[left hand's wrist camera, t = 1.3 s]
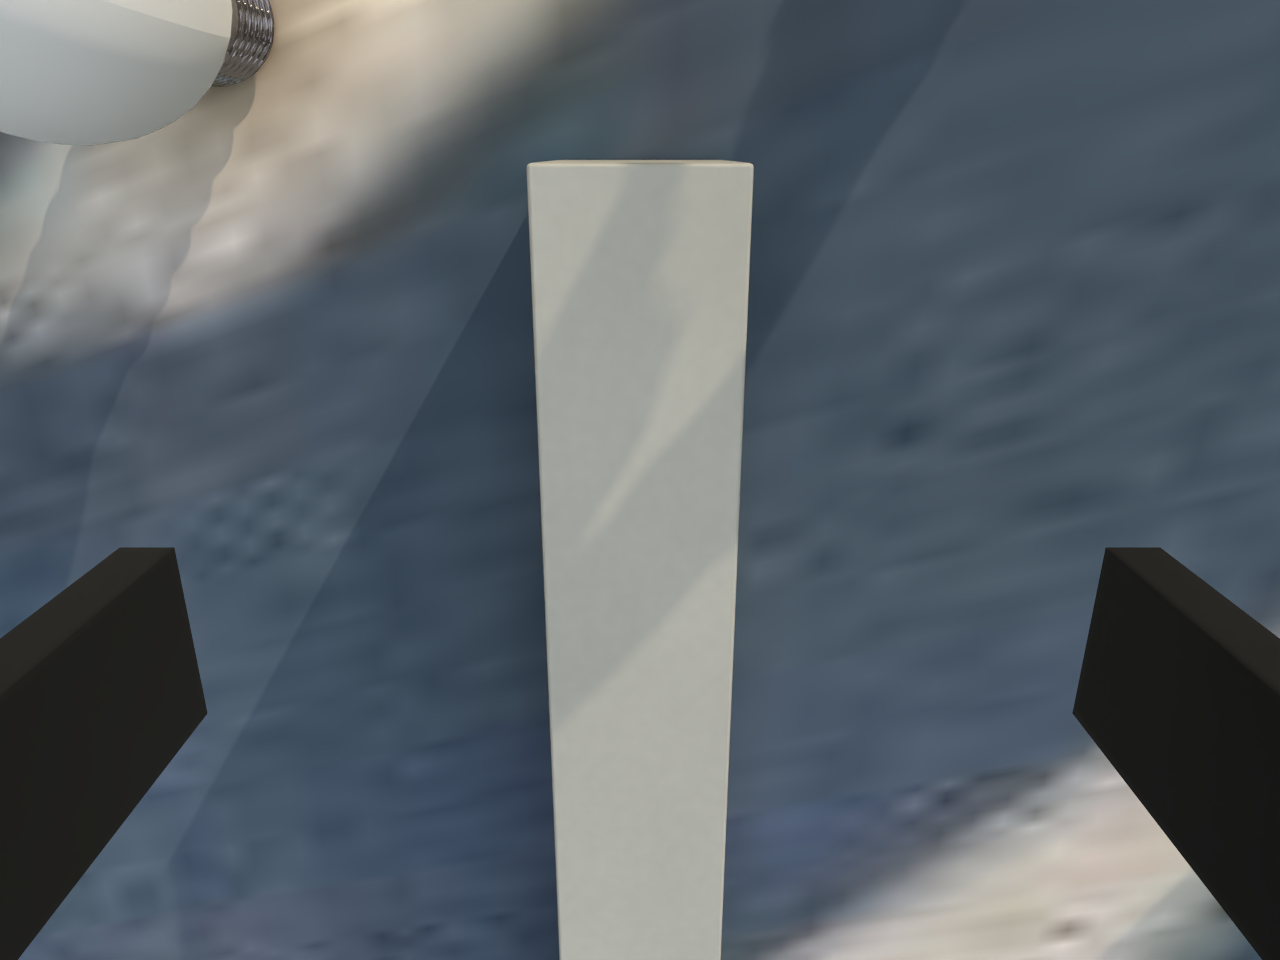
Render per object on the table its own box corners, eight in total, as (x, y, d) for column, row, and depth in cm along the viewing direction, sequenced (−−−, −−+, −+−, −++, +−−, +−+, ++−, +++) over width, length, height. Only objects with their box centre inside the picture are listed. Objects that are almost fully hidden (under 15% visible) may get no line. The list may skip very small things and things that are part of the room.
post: (555, 159, 26) (525, 162, 19) (724, 159, 26) (754, 163, 19) (590, 1274, 45) (581, 1478, 38) (689, 1274, 45) (698, 1478, 38)
